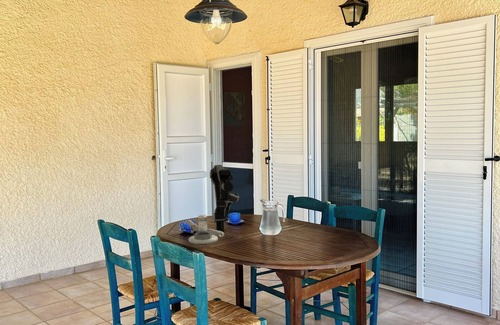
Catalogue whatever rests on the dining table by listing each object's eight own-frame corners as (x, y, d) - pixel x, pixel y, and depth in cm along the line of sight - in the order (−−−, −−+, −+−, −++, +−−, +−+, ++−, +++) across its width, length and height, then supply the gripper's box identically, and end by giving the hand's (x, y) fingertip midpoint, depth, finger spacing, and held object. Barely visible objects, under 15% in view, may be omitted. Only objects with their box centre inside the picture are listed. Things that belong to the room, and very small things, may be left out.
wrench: (221, 241, 279) (183, 231, 294) (223, 241, 281) (185, 230, 296) (222, 228, 278) (183, 219, 293) (224, 228, 280) (185, 218, 295)
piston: (204, 236, 275) (203, 214, 274) (209, 237, 271) (208, 216, 270) (196, 237, 272) (196, 216, 271) (202, 239, 268) (201, 217, 267)
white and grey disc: (194, 236, 282) (194, 230, 281) (221, 237, 278) (220, 230, 278) (184, 243, 265) (184, 236, 265) (212, 244, 261) (212, 237, 261)
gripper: (233, 192, 267) (234, 218, 268) (241, 187, 285) (242, 212, 286) (215, 191, 269) (216, 218, 270) (224, 187, 287) (224, 212, 288)
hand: (225, 215), depth 279 cm, fingers open, 9 cm apart
